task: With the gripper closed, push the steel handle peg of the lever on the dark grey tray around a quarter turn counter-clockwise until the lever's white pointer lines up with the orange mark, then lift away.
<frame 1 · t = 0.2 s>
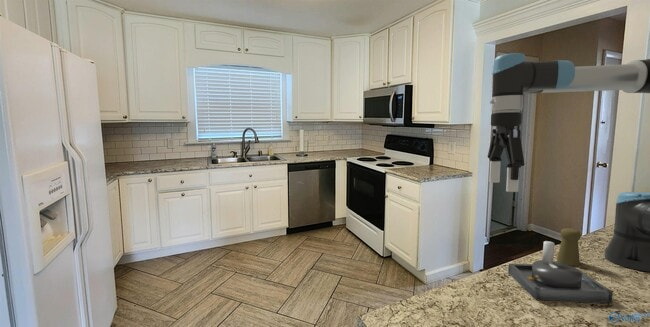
hand: (502, 186, 90), 27 cm above the countertop, tool pointing down, fingers open, 13 cm apart
lever: (556, 263, 86), point 7 cm above the countertop, hinge at 0.0°
cork: (568, 262, 102), on the countertop
dark grey tray: (555, 286, 87), on the countertop
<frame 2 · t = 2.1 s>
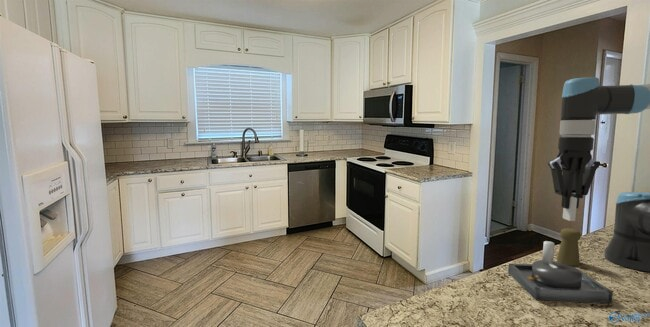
hand: (568, 219, 88), 18 cm above the countertop, tool pointing down, fingers closed
nothing on the countertop moved.
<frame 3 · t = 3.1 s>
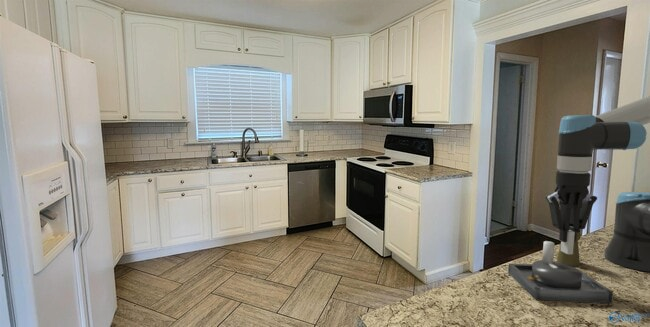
hand: (566, 252, 89), 8 cm above the countertop, tool pointing down, fingers closed
nothing on the countertop moved.
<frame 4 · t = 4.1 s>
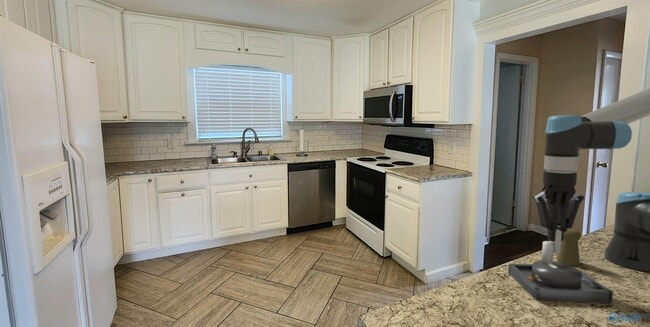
hand: (554, 251, 90), 9 cm above the countertop, tool pointing down, fingers closed
lever: (556, 263, 86), point 7 cm above the countertop, hinge at 3.0°, touching gripper
everything else where it was.
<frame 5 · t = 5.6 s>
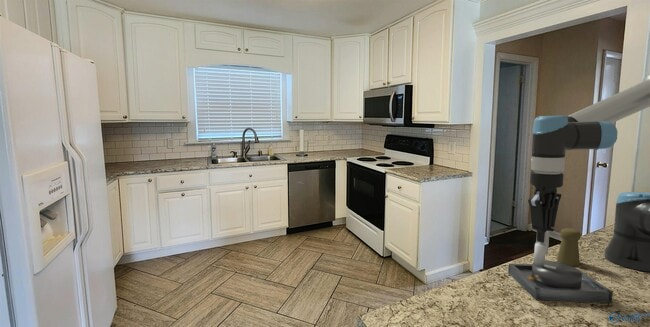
hand: (541, 252, 90), 8 cm above the countertop, tool pointing down, fingers closed
lever: (556, 263, 86), point 7 cm above the countertop, hinge at 54.6°, touching gripper
everything else where it was.
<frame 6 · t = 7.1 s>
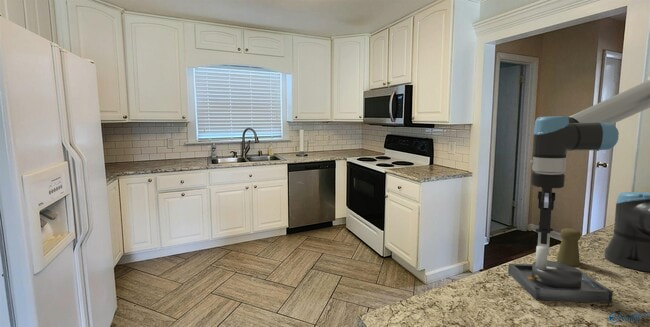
hand: (542, 253, 89), 8 cm above the countertop, tool pointing down, fingers closed
lever: (556, 263, 86), point 7 cm above the countertop, hinge at 87.6°
everything else where it was.
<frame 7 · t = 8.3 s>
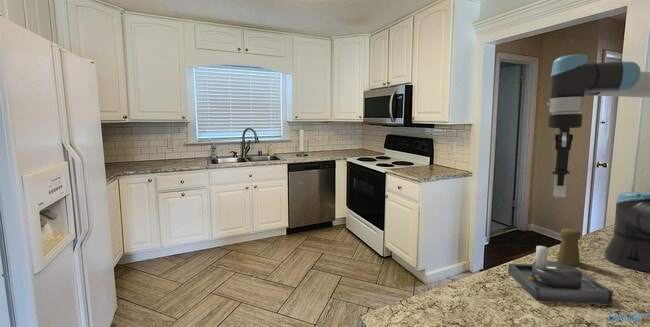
hand: (559, 196, 90), 24 cm above the countertop, tool pointing down, fingers closed
nothing on the countertop moved.
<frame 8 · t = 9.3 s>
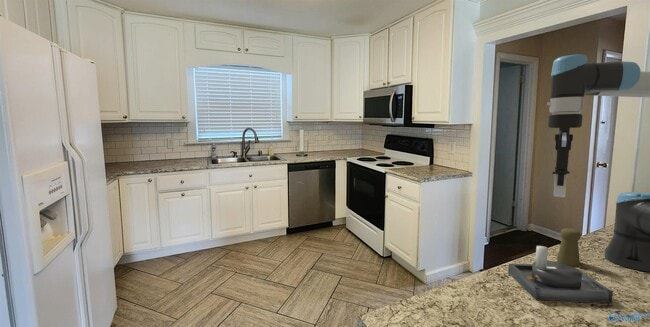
hand: (559, 196, 90), 24 cm above the countertop, tool pointing down, fingers closed
nothing on the countertop moved.
at the end: lever at +88° (first picture: +0°) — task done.
